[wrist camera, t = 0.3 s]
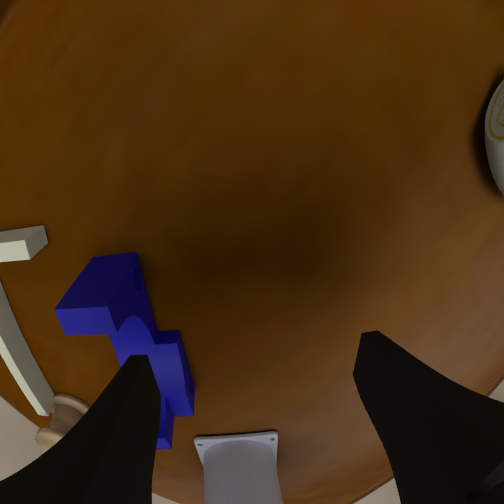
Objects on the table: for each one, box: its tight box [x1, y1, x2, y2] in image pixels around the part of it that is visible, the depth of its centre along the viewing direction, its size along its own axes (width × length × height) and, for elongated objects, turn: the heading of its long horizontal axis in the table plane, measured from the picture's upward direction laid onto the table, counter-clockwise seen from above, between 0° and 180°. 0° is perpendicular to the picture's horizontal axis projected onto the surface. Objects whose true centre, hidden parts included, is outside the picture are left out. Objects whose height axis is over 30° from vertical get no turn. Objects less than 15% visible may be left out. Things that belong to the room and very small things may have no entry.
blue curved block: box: [54, 252, 195, 449], centre depth 18 cm, size 12×4×6 cm, turn 4°
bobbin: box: [35, 393, 90, 451], centre depth 21 cm, size 5×5×5 cm
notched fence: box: [0, 225, 54, 416], centre depth 18 cm, size 16×7×2 cm, turn 2°
